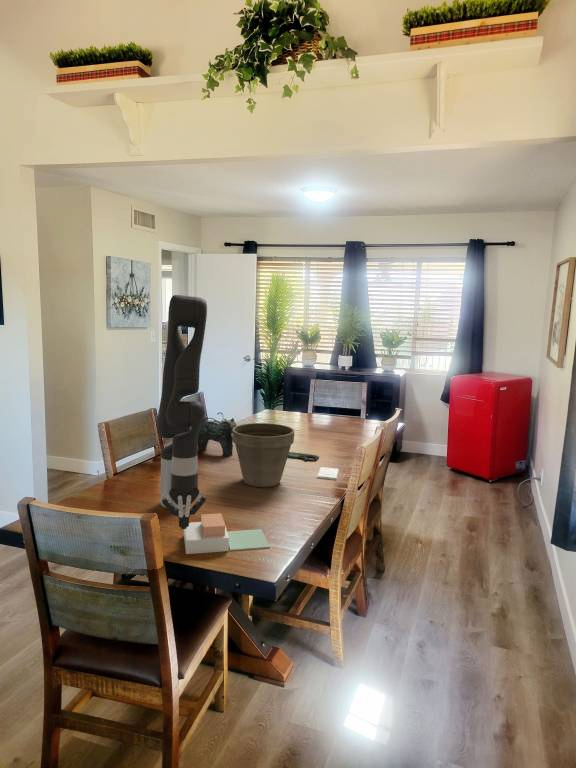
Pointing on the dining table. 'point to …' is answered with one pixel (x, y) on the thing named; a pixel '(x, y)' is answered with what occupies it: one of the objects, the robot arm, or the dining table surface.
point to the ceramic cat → (217, 434)
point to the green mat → (247, 540)
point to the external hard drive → (328, 473)
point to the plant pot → (262, 451)
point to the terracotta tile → (212, 525)
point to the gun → (303, 456)
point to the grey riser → (203, 540)
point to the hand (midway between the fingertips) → (183, 528)
